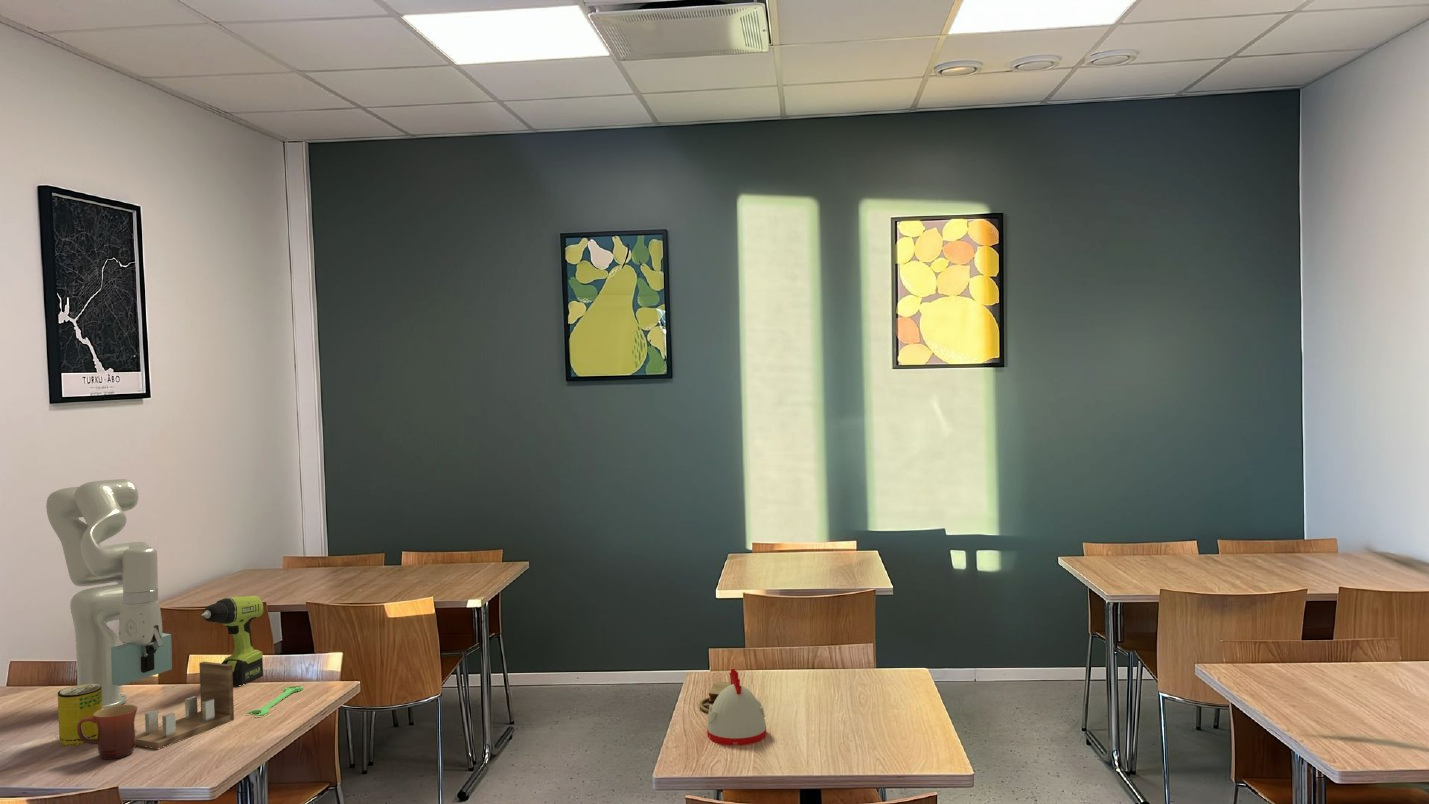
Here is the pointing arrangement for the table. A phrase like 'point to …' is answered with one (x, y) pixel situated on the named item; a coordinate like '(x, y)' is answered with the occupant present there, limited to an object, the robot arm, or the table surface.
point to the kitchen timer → (736, 716)
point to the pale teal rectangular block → (138, 661)
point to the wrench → (276, 700)
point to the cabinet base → (194, 709)
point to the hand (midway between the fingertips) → (142, 669)
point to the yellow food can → (78, 712)
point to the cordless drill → (239, 634)
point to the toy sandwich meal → (713, 695)
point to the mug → (112, 731)
